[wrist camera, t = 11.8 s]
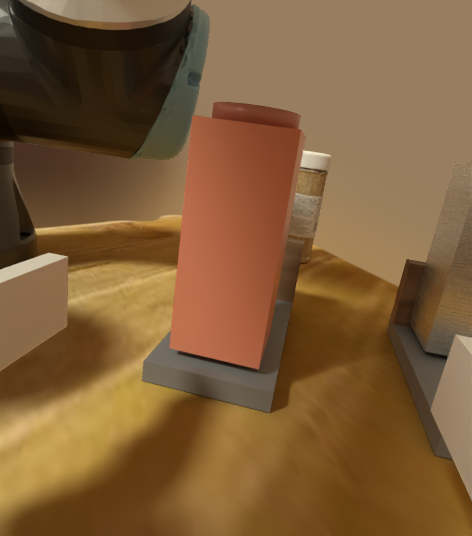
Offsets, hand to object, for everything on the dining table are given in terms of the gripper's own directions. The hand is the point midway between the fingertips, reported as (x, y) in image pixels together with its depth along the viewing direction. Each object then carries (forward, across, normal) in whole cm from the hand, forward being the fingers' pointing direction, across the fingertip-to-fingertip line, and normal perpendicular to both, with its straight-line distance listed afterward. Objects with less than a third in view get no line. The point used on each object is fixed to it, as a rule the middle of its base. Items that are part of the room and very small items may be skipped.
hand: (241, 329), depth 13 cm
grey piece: (+13, -2, -7) cm, 14 cm away
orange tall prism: (+9, -2, -5) cm, 10 cm away
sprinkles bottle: (+38, +1, -7) cm, 39 cm away
